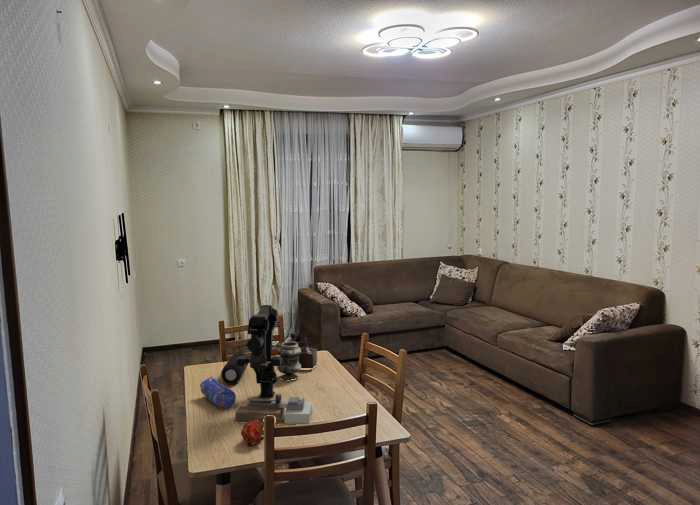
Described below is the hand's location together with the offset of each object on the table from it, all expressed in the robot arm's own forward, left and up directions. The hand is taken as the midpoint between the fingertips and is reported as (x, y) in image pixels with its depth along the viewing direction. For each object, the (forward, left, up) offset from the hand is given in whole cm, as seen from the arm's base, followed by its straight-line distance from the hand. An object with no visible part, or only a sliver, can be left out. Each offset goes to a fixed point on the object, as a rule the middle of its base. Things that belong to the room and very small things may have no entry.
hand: (259, 380), depth 219 cm
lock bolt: (+8, +12, -8) cm, 17 cm away
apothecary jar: (-40, +7, -13) cm, 43 cm away
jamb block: (+8, +18, -13) cm, 23 cm away
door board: (+8, +2, -13) cm, 15 cm away
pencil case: (-7, -20, -13) cm, 25 cm away
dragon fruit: (+31, +4, -13) cm, 34 cm away
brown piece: (-58, +11, -13) cm, 61 cm away
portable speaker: (-41, -21, -13) cm, 48 cm away
